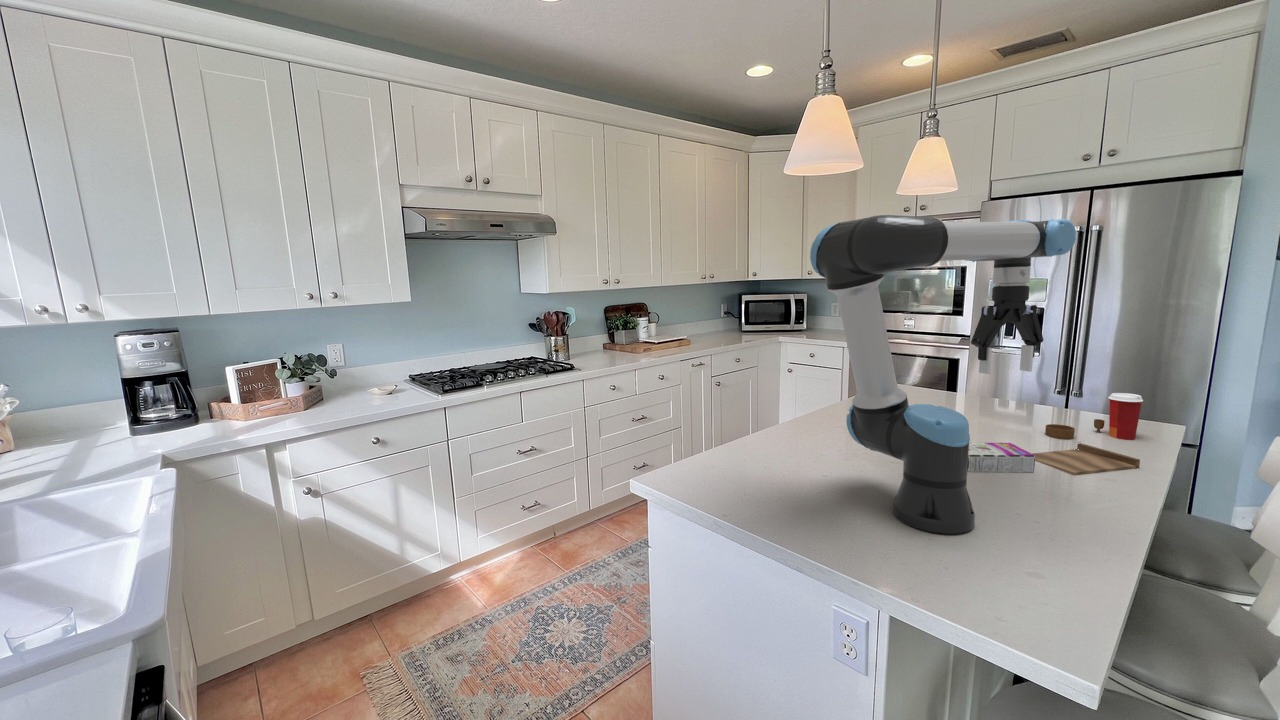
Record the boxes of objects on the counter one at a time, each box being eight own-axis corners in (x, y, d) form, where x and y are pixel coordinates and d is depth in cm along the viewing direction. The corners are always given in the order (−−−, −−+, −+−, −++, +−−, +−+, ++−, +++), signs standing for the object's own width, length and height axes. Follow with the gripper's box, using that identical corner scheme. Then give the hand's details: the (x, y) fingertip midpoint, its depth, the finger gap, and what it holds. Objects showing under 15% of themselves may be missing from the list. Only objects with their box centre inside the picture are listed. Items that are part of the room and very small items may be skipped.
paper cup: (1145, 441, 155) (1149, 395, 153) (1130, 445, 152) (1134, 398, 150) (1113, 435, 162) (1117, 391, 160) (1098, 438, 159) (1102, 393, 157)
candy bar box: (1009, 459, 143) (946, 458, 145) (1010, 442, 142) (947, 441, 144) (1034, 474, 132) (966, 472, 134) (1036, 455, 131) (967, 454, 133)
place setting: (1024, 433, 170) (1026, 415, 169) (1100, 437, 163) (1101, 418, 162) (1047, 449, 153) (1048, 429, 152) (1132, 453, 147) (1133, 433, 146)
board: (1073, 475, 130) (1074, 466, 129) (1020, 457, 144) (1020, 449, 144) (1139, 468, 133) (1140, 459, 133) (1080, 451, 148) (1081, 443, 148)
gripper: (981, 285, 123) (976, 376, 125) (1066, 283, 127) (1059, 371, 130) (956, 286, 130) (952, 372, 133) (1037, 284, 134) (1031, 367, 137)
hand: (1005, 372), depth 131 cm, fingers open, 11 cm apart
